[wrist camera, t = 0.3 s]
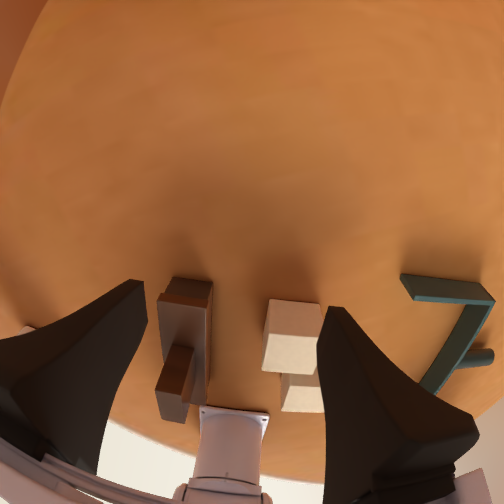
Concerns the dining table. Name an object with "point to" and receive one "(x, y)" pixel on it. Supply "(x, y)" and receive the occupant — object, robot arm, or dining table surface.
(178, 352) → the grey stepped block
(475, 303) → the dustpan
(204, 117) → the dining table surface
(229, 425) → the robot arm
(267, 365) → the cream white cube
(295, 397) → the beige cube
